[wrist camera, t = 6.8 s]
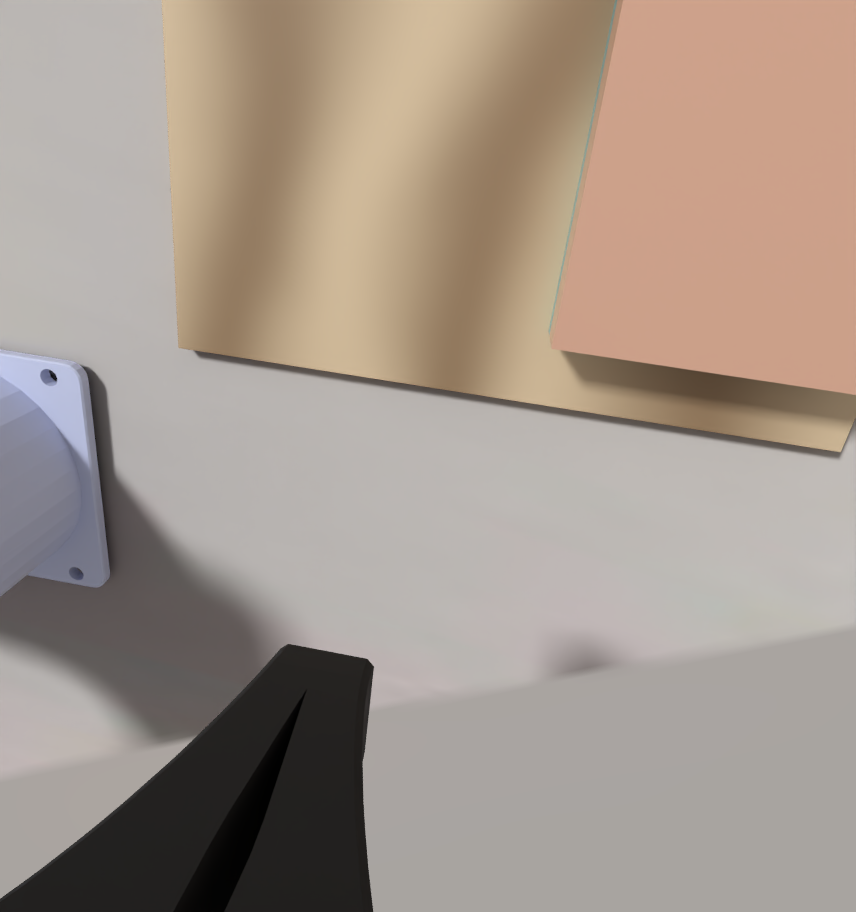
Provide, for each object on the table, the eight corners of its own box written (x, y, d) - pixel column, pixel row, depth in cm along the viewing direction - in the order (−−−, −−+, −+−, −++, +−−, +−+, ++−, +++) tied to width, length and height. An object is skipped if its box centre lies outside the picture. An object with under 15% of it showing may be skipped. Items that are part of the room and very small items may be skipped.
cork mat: (186, 343, 18) (178, 347, 18) (142, -700, 11) (126, -737, 10) (832, 444, 17) (840, 452, 17) (1301, -658, 9) (1339, -699, 9)
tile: (551, 348, 15) (865, 396, 14) (641, -88, 11) (1057, -46, 11) (548, 330, 16) (830, 372, 16) (626, -57, 13) (987, -19, 12)
